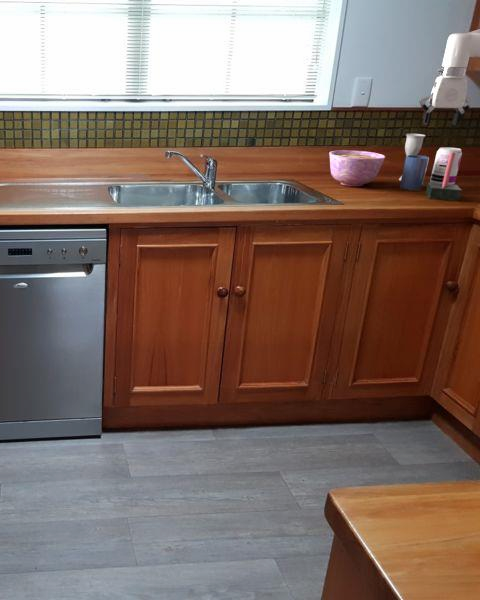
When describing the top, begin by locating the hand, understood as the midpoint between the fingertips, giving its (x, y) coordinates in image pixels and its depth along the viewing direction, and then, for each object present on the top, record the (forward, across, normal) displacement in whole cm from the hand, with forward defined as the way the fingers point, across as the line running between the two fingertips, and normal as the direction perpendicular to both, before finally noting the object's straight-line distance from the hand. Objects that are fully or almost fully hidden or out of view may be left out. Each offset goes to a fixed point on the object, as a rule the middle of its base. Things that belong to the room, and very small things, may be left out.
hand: (440, 124), depth 213 cm
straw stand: (+25, +5, -3) cm, 26 cm away
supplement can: (+25, +11, +13) cm, 31 cm away
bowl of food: (+25, -21, +15) cm, 36 cm away
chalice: (+25, +4, +28) cm, 37 cm away
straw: (+25, +5, -3) cm, 26 cm away
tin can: (+25, -1, +11) cm, 27 cm away
